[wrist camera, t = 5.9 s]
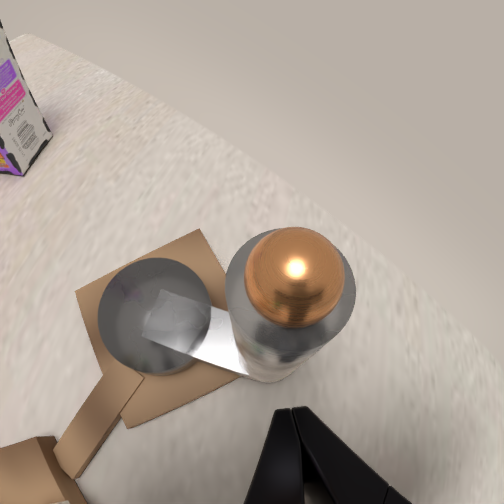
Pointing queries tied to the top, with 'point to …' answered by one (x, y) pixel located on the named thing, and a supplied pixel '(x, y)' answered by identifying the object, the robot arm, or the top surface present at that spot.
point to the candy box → (18, 116)
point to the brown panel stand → (112, 394)
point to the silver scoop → (231, 309)
